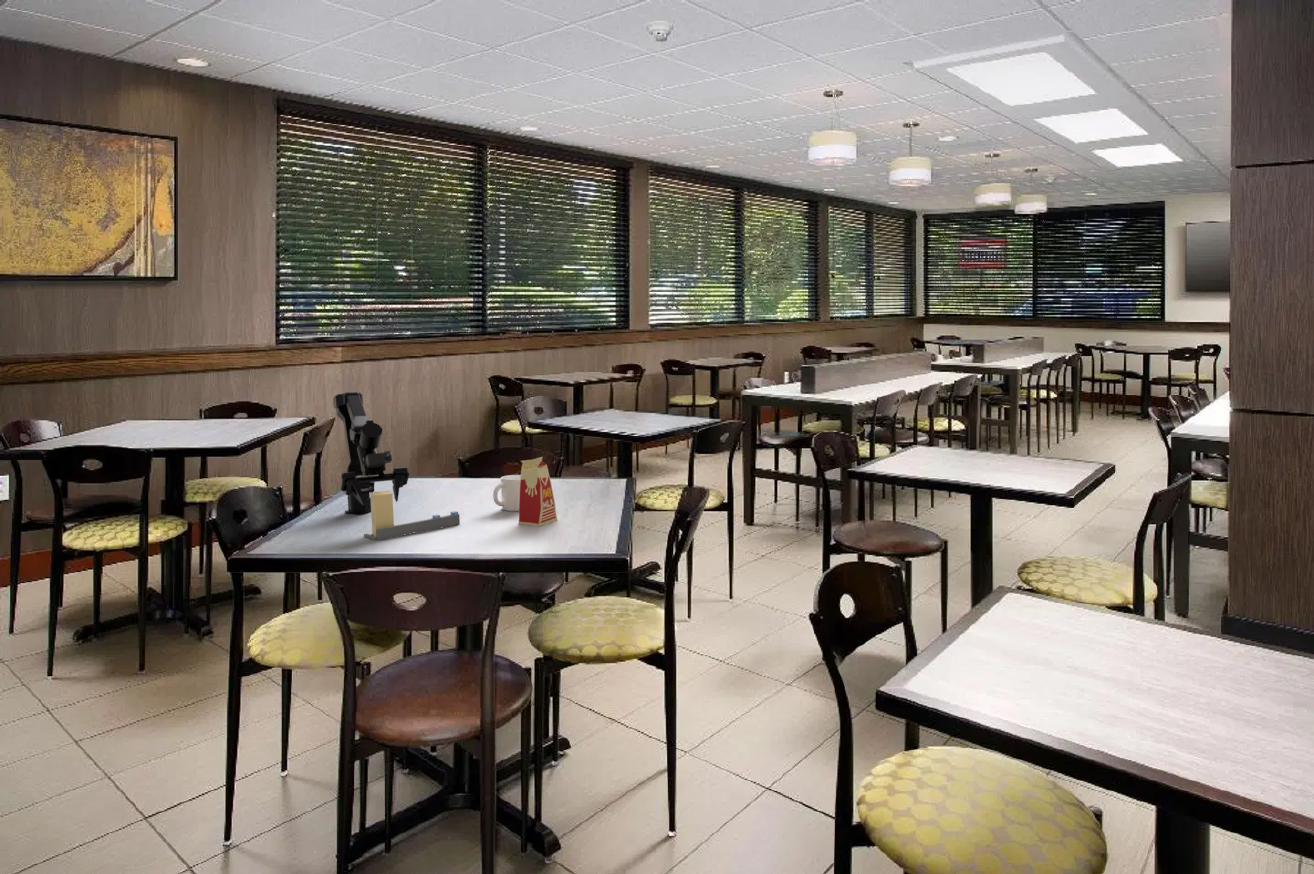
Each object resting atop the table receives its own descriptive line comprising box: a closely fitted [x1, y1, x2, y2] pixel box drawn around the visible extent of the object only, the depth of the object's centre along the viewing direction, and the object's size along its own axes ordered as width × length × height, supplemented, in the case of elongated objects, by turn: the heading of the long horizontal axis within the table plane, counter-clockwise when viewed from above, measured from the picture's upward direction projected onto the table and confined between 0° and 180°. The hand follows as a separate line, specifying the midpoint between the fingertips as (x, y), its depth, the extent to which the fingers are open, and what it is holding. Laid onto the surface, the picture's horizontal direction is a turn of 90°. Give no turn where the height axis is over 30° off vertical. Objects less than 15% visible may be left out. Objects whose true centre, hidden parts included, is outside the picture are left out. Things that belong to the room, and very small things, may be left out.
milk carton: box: [518, 456, 558, 527], centre depth 262 cm, size 9×9×20 cm
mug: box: [492, 474, 521, 512], centre depth 280 cm, size 12×8×10 cm
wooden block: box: [370, 490, 395, 537], centre depth 249 cm, size 5×5×12 cm
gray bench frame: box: [363, 510, 461, 541], centre depth 254 cm, size 27×7×4 cm, turn 135°
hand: (380, 502), depth 250 cm, fingers open, 9 cm apart
